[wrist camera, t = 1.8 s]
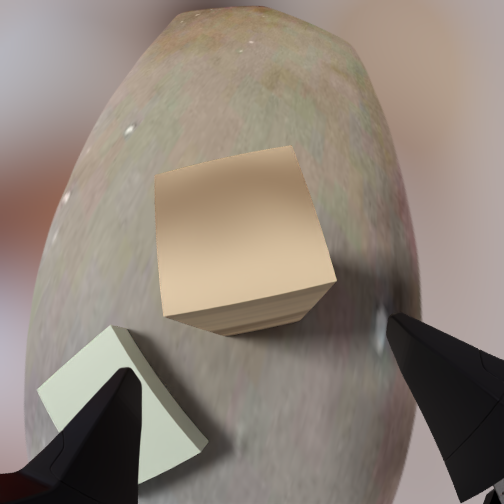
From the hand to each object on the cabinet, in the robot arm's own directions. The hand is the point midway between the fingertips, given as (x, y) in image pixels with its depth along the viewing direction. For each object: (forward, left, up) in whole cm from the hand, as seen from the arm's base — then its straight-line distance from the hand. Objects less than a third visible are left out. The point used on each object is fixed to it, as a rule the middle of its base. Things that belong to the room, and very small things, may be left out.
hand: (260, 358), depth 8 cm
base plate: (0, +14, -11) cm, 18 cm away
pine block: (+4, -1, -11) cm, 12 cm away
